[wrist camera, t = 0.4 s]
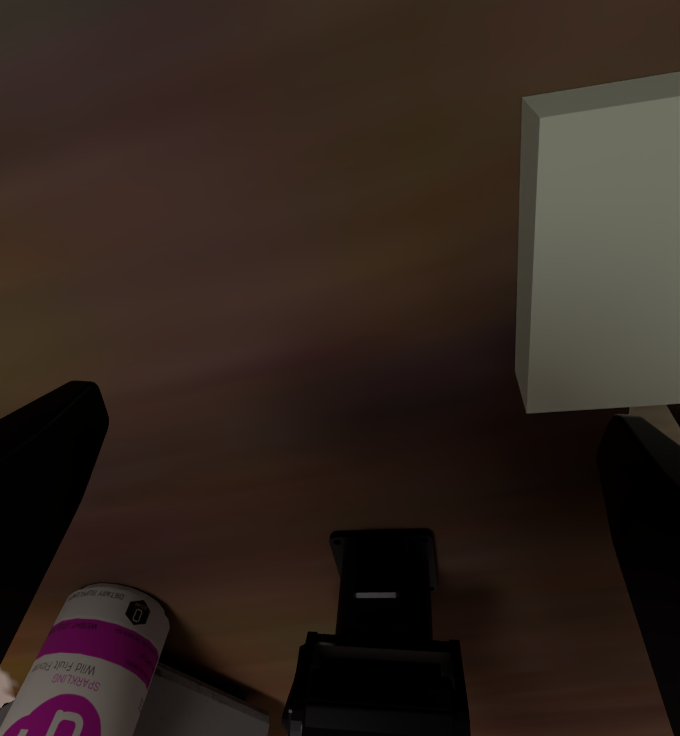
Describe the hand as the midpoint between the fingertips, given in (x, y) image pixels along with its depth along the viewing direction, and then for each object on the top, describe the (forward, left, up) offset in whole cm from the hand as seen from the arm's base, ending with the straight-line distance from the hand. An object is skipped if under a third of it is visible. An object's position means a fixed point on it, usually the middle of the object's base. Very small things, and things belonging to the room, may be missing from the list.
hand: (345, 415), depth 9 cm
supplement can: (-31, +25, -14) cm, 42 cm away
